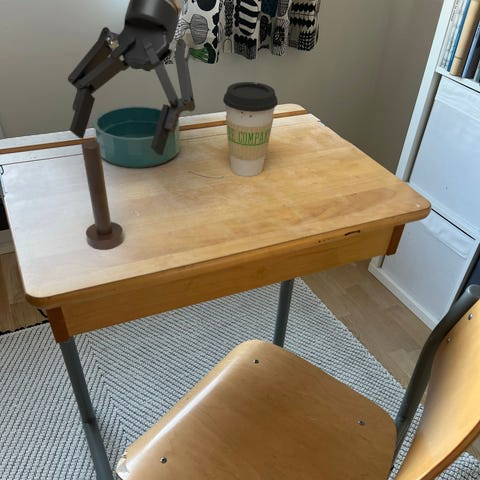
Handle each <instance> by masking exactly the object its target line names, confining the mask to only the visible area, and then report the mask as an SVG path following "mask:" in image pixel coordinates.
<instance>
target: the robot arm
mask: <svg viewBox="0 0 480 480" xmlns="http://www.w3.org/2000/svg"><path fill="white" fill-rule="evenodd" d="M184 4H185V0H129V1H128V5H127V8H126V12H125V15H124V23H123V29H122V30H121V32H120V33H116V32H113V31H111V30H110V28H109V27H108V26H105V27H103V28H102V29H101V32H100V34H99V36H98V38H97V41H96V42H95V43H94V44H93V46H91V48H90V49H89V50H88V52H87V53H86V54H85V55H84V57H83V58H81V60H80V62H79V63H77V65H76V66H75V68H74V69H73V70H72V71H71V72H70V74H69V75H68V77H67V81H68V83H70V85H72V86H73V87H74V88H75V89H76V93H75V96H74V100H73V103H72V106H71V107H72V111H73V112H74V114H73V117H72V120H71V124H70V127H69V131H70V132H71V133H72V134H74V135H75V136H76V137H77V138H79V139H84V138H85V134H86V132H87V131H86V130H87V127H88V123H89V120H90V117H91V114H92V110H93V107H94V104H95V100H96V98H95V96H94V95H93V94H94V93H96V92H97V91H98V90H100V88H102V87H103V86H104V85H106V84H107V83H108V82H109V81H110V80H111V79H113V78H115V76H117V75H118V74H119V73H121V71H122V72H123V71H126V70H128V69H129V68H131V69H132V70H143V71H145V72H151V71H152V70H154V72H155V74H156V76H157V78H158V80H159V83H160V85H161V87H162V89H163V92H164V94H165V96H166V98H167V102H168V103H169V104H162V108H161V109H162V111H161V114H160V118H159V121H158V124H157V128H156V131H155V135H154V138H153V141H152V145H151V148H152V149H153V150H154V151H155V152H156V153H157V154H158V155H161V156H162V155H163V152H164V149H165V145H166V142H167V138H168V135H169V133H174V131H175V130H176V126H177V123H178V119H179V120H180V116H181V114H182V113H183V112H186V111H188V112H194V111H195V109H196V103H195V97H194V91H193V85H192V80H191V73H190V68H189V59H190V56H191V55H190V54H191V50H190V49H189V46H188V45H187V43H186V41H185V39H183V38H179V39H178V40H176V42H173V41H174V40H175V35H176V32H177V28H178V25H179V22H180V19H179V17H181V14H182V11H183V7H184ZM171 54H172V56H173V58H174V61H175V67H176V72H177V79H178V85H179V91H180V96H181V98H179V96H178V94H177V92H176V90H175V88H174V85H173V83H172V81H171V79H170V76H169V74H168V71H167V69H166V66H165V64H164V61H165V60H166V59H168V57H170V55H171ZM121 57H122V58H123V59H121Z"/></svg>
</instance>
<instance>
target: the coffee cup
mask: <svg viewBox="0 0 480 480" xmlns="http://www.w3.org/2000/svg"><path fill="white" fill-rule="evenodd" d="M222 101H223V103H224V104H225V113H226V115H225V123H226V131H227V132H226V135H227V145H228V146H227V147H228V153H229V161H230V171H231V172H232V173H233V174H235V175H237V176H240V177H256V176H259V175H260V174H261V173H262V172H263V170H264V169H263V168H264V163H265V158H266V155H267V152H268V146H269V142H270V137H271V134H272V133H271V132H272V128H273V123H274V114H275V108H276V107H277V106H278V97H277V95H276V91H275V89H274V88H273V87H272V86H270V85H268V84H265V83H261V82H254V81H243V82H242V81H241V82H236V83H232V84H230V85H229V86H227V89H226V92H225V93H224V94H223V99H222Z"/></svg>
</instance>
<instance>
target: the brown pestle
mask: <svg viewBox="0 0 480 480" xmlns="http://www.w3.org/2000/svg"><path fill="white" fill-rule="evenodd" d="M81 152H82V157H83V162H84V163H83V164H84V169H85V174H86V180H87V186H88V190H89V192H88V193H89V196H90V198H89V199H90V203H91V209H92V214H93V215H92V216H93V221H94V223H93V224H91V225H90V226H88V227H87V228H86V230H85V237H86V241H87V244H88V245H89V246H90V248H93V249H96V250H102V251H103V250H111V249H114V248H117V247H119V246H120V245H121V244H122V243H123V242H124V239H125V238H124V232H123V231H124V230H123V227H122V226H121V225H120V224H119V223H117V222H113V221H111V215H110V214H111V213H110V208H109V207H110V206H109V200H108V194H107V193H108V192H107V187H106V179H105V173H104V167H103V161H102V159H103V158H102V157H101V153H100V146H99V143H98V142H96V141H95V140H88V141H84V142H82V143H81Z"/></svg>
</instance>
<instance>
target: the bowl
mask: <svg viewBox="0 0 480 480" xmlns="http://www.w3.org/2000/svg"><path fill="white" fill-rule="evenodd" d="M161 111H162V108H159V107H154V106H147V105H129V106H120V107H119V106H118V107H115V108H111V109H109V110H106V111H103V112H101V113H99V114H97V116H96V117H94V119H93V122H92V128H93V135H94V141H96V142H98V143H99V146H100V153H101V158H102V159H104V160H105V161H107V162H109V163H111V164H113V165H115V166H119V167H123V168H131V169H140V168H141V169H143V168H152V167H156V166H160V165H163V164H166V163H167V162H169V161H170V160H173V158H174V157H176V156H177V154H178V153H179V152H180V150H181V137H180V135H181V134H180V118H179V119H178V123H177V126H176V130H175V131H174V133H169V135H168V138H167V142H166V145H165V149H164V152H163V155H162V156H161V155H158V154H157V153H156V152H155V151H154V150H153V149H152V148H151V145H152V141H153V138H154V135H155V131H156V128H157V124H158V121H159V118H160V114H161Z"/></svg>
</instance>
